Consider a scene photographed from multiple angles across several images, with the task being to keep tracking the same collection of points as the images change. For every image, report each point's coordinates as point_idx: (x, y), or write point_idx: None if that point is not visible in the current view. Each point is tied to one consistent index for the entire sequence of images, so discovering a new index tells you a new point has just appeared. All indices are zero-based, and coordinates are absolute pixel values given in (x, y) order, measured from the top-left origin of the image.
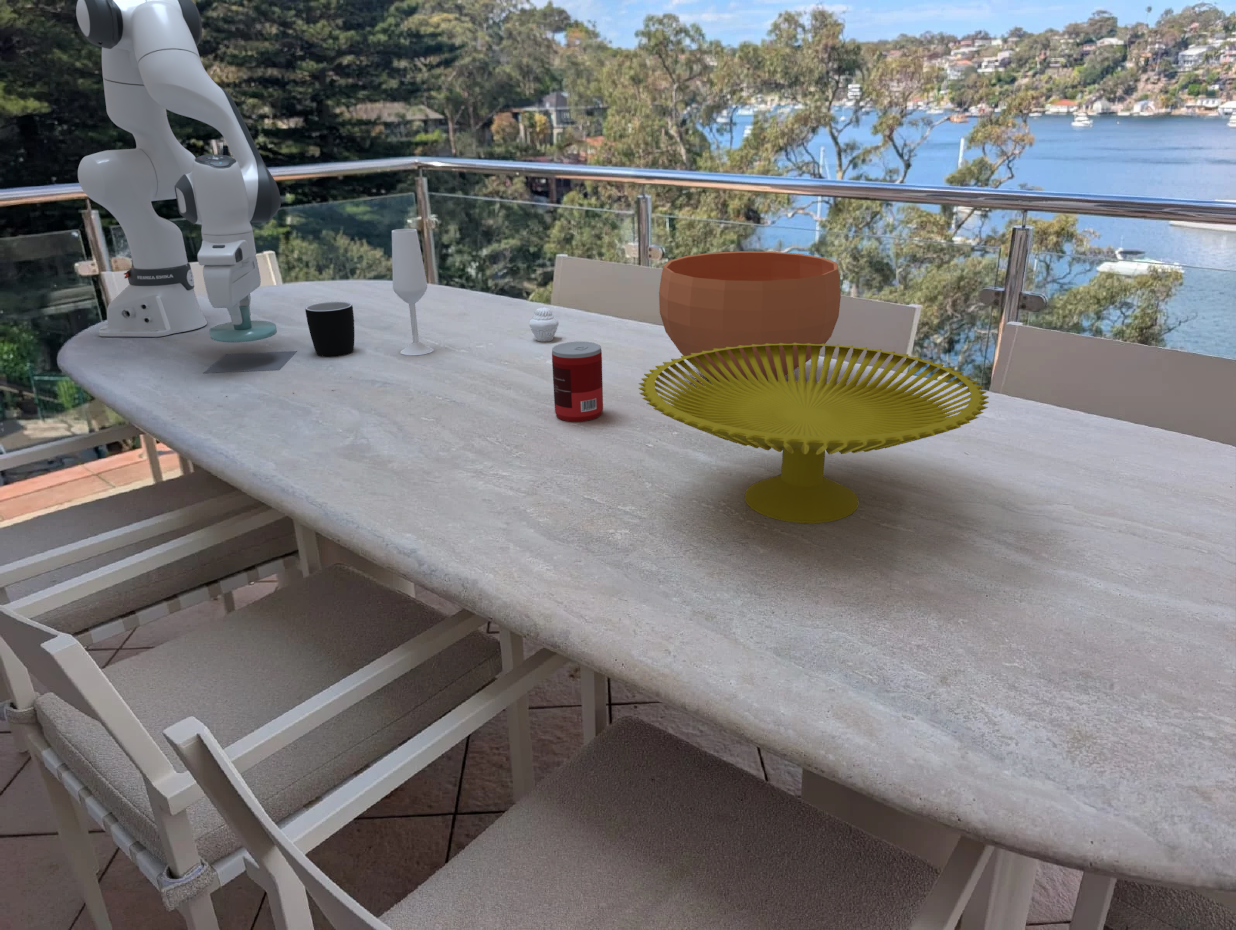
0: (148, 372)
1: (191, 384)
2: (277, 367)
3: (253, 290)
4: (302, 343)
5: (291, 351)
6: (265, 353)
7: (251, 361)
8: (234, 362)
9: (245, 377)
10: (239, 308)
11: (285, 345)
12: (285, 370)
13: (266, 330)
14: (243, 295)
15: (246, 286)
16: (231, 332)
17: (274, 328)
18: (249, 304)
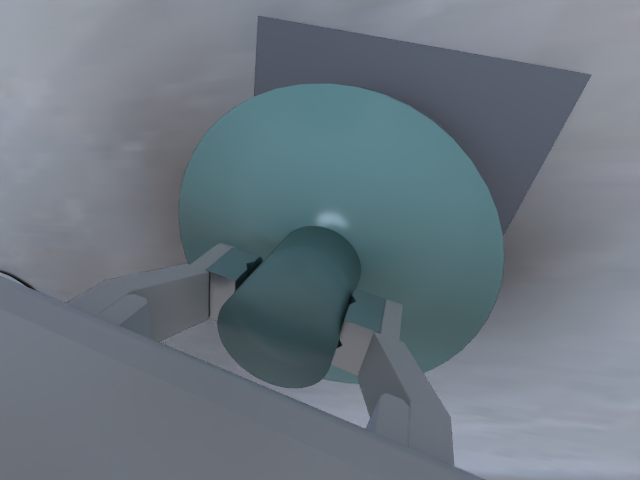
0: (333, 400)
1: (518, 357)
2: (531, 87)
3: (22, 289)
4: (112, 19)
5: (262, 43)
6: None
7: None
8: None
9: (537, 216)
10: (407, 385)
11: (136, 86)
12: (521, 52)
13: (421, 144)
14: (347, 456)
15: (125, 466)
16: None
17: (367, 91)
18: (173, 275)
